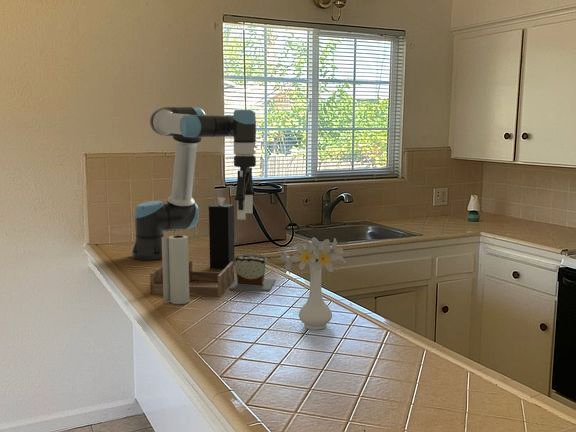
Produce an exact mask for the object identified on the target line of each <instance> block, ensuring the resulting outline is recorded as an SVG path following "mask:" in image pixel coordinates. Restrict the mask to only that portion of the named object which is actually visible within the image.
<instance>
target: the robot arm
mask: <svg viewBox="0 0 576 432" xmlns="http://www.w3.org/2000/svg"><path fill="white" fill-rule="evenodd" d="M149 125H150V128H151V129H152V131H153V132H155V133H156V134H157V135H160V136H163V137H164V136H165V137H172V140H173V141H174V142H175V151H174V154H175V155H174V162H173V175H172V176H173V177H172V186H171V187H172V188H171V195H169V196H168V197H167V199H166V200H167V203H163V201H161V200H154V201H153V200H152V201H151V200H150V201H144V202H141V203H139V204H136V206H135V207H134V221H135V222H134V225H135V230H134V231H135V241H134V244H133V248H132V250H131V252H132V253H131V258H132V259H134V260H139V261H154V260H155V261H156V260H162V238H163V237H165V235H164V234H165V232H168V231H178V230H180V231H181V230H188V229H192V228H194V227H195V226H196V225H197V223H198V220H199V216H200V215H199V214H200V212H199V206H198V203H196V202H195V201H196V200H195V199H194V198H193V187H194V178H195V168H196V160H197V159H196V158H197V149H198V145H199V144H200V143H202V138H233V154H234V156H233V165H234V167H236V168H239V170H237V180H236V181H237V182H236V191H235V192H236V193H235V197H234V201H236V207H237V208H236V211H237V213H236V216H237V217H236V219H237V220H246V219H247V218H246V216H247V215H246V214H253V212H254V211H253V210H254V208H253V205H254V203H253V200H254V199H253V198H254V197H253V196H255V195H256V193H255V190H254V182H253V171H252V170H253V168H254V167H256V166H257V165H256V163H257V156H256V155H255V154H256V151H257V150H256V149H258V145H257V144H256V142H257V141H256V140H257V139H256V136H257V132H256V131H257V119H256V111H255V110H254V109H235V110H234V111H233V115H231V114H226V115H224V114H223V115H221V114H220V115H214V114H213V115H211V114H210V115H208V114H206V113H205V111H204V110H203V109H202V108H201V107H194V106H165V107H164V106H163V107H161V108H158V109H155V110H154V111H153V112H152V114H151V115H150V119H149Z"/></svg>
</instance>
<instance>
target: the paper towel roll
mask: <svg viewBox="0 0 576 432" xmlns="http://www.w3.org/2000/svg"><path fill="white" fill-rule="evenodd" d="M161 261H162V262H161V263H162V264H161V266H162V267H163V294H162V295H163V303H168V302H170V303H171V304H174V305H184V304H188V303H190V295H189V286H190V282H189V262H188V261H189V236H188V235H180V234H179V235H170V236H169V235H168V236H164V237H163V238H162V259H161Z"/></svg>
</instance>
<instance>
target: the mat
mask: <svg viewBox="0 0 576 432" xmlns="http://www.w3.org/2000/svg"><path fill="white" fill-rule="evenodd" d="M276 281H277V280H276V278H264V284H263V287H261V286H250V285H239V284H237V278H236V280H234V281H233V283H232V284H231V285H230V286H229V287H228V290H229V291H253V292H254V291H255V292H256V291H257V292H271V290H272V288H273V286H274V284H275V283H276Z"/></svg>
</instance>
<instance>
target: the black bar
mask: <svg viewBox="0 0 576 432" xmlns="http://www.w3.org/2000/svg"><path fill="white" fill-rule="evenodd" d="M217 200H218V203H214V204H211V205H209V206H208V224H209V225H208V226H209V227H208V230H209V237H208V238H209V269H211V270H224V269H225V268H226V267H227V265H228V264H229V263H230V262H233V261H234V258H235V204H231V203H228V204H227V203H226V204H225V200H226V198H225V197H219V196H217ZM234 266H235V262H234Z"/></svg>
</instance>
